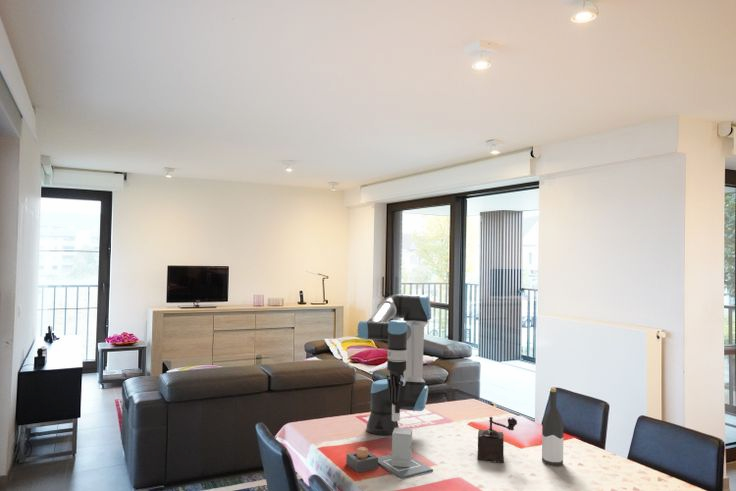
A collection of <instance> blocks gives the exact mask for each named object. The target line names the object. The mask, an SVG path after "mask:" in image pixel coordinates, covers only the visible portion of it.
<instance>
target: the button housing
mask: <svg viewBox="0 0 736 491" xmlns="http://www.w3.org/2000/svg"><path fill="white" fill-rule="evenodd" d="M378 457H379V456H377V455H375V454H373V453H372V452H370V451H369V450H368V458H364V459H358V458H357V451H355V452H350V453H346V457H345V458H346V462H345V465H347V466H348V467H349V468H351V469H352V470H353V471H355V472H356V473H360V472H361V473H362V472H367V471H371V470H376V469H378V468H379V465H378Z"/></svg>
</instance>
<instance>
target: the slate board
mask: <svg viewBox="0 0 736 491" xmlns="http://www.w3.org/2000/svg"><path fill="white" fill-rule="evenodd" d="M377 457H378V466H380V467H382V468H383V469H385V470H386V471H388V472H389V473H390V474H391V475H393V476H396V478H397V479H399V480H403V479H407V478H410V477H414V476H415V477H417V476H419V475H423V474H429V473H430V472H431V473H432V472H433V471H434V469H433V468H431V467H430V466H429V465H427V464H425V463H423V462H422V461H420V460H418V459H416V458H414V457H412V460H411V463H410V467H400V466H392V465H391V463H392V453H391V454H388V455H387V454H386V455H382V456H377Z"/></svg>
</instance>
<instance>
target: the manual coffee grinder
mask: <svg viewBox="0 0 736 491" xmlns="http://www.w3.org/2000/svg"><path fill="white" fill-rule="evenodd" d="M493 419H494V418H493V417H492V416H489V428H488V429H478V433H477V456H476V457H477V459H476V460H477V461H480V462H487V463H504V461H505V455H504V450H505V449H504V446H505V445H504V444H505V442H504V438H505V437H504V435H505V434H504V433H503V432H502V431H497V430H496V429H493V425H495V426H500V427H503V428H505V429H507V430H508V431H515V427H516V425H517V424H518V420H517V419H516V418H514V417H508V418H507V424H508V425H505V424H504V423H503V424H502V423H499V422H495V421H494V420H493Z"/></svg>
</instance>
